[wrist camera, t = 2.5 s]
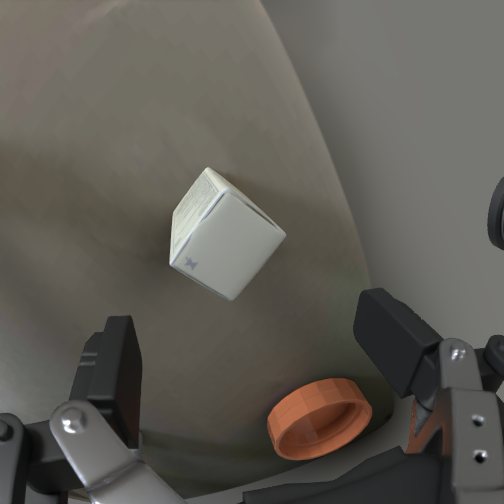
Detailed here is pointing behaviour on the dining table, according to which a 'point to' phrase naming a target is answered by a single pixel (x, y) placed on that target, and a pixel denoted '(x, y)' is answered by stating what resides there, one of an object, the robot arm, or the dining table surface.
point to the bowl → (318, 418)
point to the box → (221, 236)
